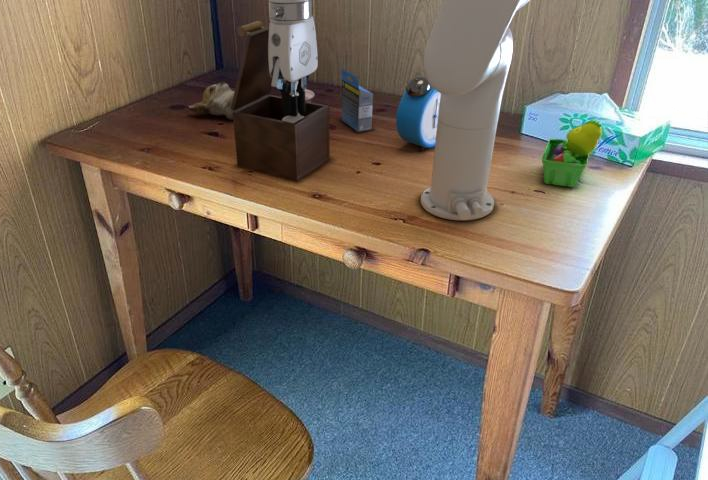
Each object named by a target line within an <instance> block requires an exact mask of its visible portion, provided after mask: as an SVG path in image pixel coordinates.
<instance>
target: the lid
mask: <svg viewBox="0 0 708 480" xmlns="http://www.w3.org/2000/svg"><path fill="white" fill-rule="evenodd" d="M237 33H238V36H240V37H241V38H245V37H246V40H245V44H244V49H243V53H242V58H241V63H240V66H239V71H238V75H237V81H236V84H235V88H234V91H235V92H234V96H233V101H232V105H231V109H232V110H233V111H234V110H236V109H238V108H240V107H242V106H246V105H249V104H251V103H253V102H255V101H257V100H259V99H261V98H263V97H265V96H267V95H271V92H272V89H273V88H272V87H271V84H272V78H271V76H270V73H269V62H268V39H269V26H266V27H264V23H263V22H262V21H261V20H256V21H253V22H251V23H247V24H244V25H241V26H239V27H238V28H237Z"/></svg>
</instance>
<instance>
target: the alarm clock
mask: <svg viewBox="0 0 708 480" xmlns="http://www.w3.org/2000/svg"><path fill="white" fill-rule="evenodd" d="M440 98H441V93H439V92H438V91H436V90H435V89H434V88H433V87H432V86H431V85H430V84H429V82H428V80H427V78H426V76H421V75H417V76H414V77H413V78H410V80H408V82H407V83H406V87H405V92H404V93H403V95H402V97H401V99H400V101H399V104H398V107H397V111H396V121H395V123H396V124H395V125H396V130H397V134H398V135H399V137H400V138H401V139H402V140H403V141H405V142H407V143H410V144H413V145H416V146H420V147H421V148H420V151H421V152H423V151H424V149H425V148H427V149H431V148H435V142H436V132H437V122H438V114H439V105H440Z"/></svg>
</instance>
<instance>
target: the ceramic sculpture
mask: <svg viewBox="0 0 708 480" xmlns="http://www.w3.org/2000/svg"><path fill="white" fill-rule="evenodd" d="M234 92H235V90H232V89H231V88H230V85H229V84H228V83H226V82H225V81H222V80H217V81H216V83H214V84H211V85H208V86H207V87H206V88H205V89H204V91H203V94H202V101H200V102H195V103H193V104H190V105H185V108H187V109H188V110H189V111H191V112H193V113H195V114H198V115H205V114H206V115H207V114H210V115H212V116H225V117H226V118H227V119H228V120H231V121H233V112H234V111H236V110H238V109H240V108H242V107H244V106H242V107H240V108H238V109H236V110H234V111H233V110H232V109H231V105H232V101H233V96H234Z"/></svg>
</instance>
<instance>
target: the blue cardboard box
mask: <svg viewBox="0 0 708 480" xmlns="http://www.w3.org/2000/svg"><path fill="white" fill-rule="evenodd" d="M348 78H350V79H351V80H350V79H348ZM359 81H360V79H359V77H358V76H357V75H355V74H353V73H352V72H350V71H348V70H347V69H345V68H343V67H341V121H342V122H343V123H345V124H346V125H348V126H349V127H350V128H351V129H353V130H354V131H356V133H360V132H366V131H372V128H373V127H372V126H373V125H372V124H373V122H372V121H373V120H372V119H373V103H374V102H373V101H374V93H372V92H371V91H369V90H368V89H366V88H364V87H362V86H360V83H359Z"/></svg>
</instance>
